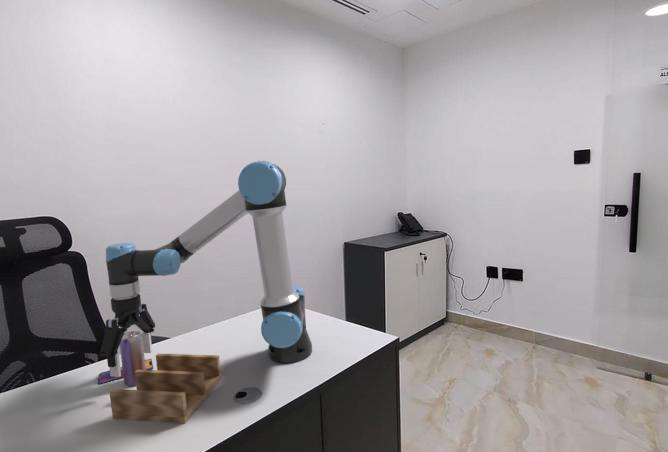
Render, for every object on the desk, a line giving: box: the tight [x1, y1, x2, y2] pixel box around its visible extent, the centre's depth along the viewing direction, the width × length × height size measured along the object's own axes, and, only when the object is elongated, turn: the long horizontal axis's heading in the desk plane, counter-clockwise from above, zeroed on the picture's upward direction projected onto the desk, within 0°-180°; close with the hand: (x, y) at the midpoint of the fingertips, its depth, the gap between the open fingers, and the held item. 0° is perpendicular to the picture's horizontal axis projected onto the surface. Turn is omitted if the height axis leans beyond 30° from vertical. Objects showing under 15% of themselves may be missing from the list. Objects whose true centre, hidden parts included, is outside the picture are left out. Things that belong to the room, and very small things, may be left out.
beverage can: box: [119, 330, 146, 387], centre depth 105 cm, size 6×6×15 cm
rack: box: [109, 353, 222, 424], centre depth 97 cm, size 20×20×8 cm
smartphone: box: [97, 358, 154, 386], centre depth 112 cm, size 7×15×1 cm, turn 122°
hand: (132, 363), depth 105 cm, fingers open, 13 cm apart
